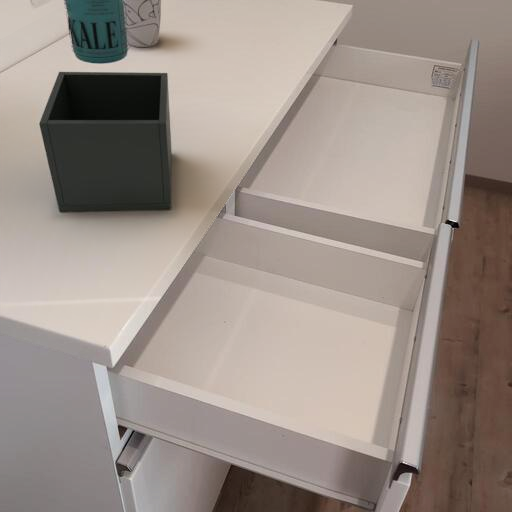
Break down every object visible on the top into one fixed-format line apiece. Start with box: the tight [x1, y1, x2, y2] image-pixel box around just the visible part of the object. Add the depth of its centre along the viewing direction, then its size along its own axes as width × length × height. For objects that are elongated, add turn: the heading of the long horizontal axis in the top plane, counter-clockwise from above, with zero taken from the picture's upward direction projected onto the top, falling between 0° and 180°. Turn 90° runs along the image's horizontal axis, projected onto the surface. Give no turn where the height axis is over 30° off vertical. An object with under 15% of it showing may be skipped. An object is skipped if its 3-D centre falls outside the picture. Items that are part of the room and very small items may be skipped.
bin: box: [39, 71, 173, 213], centre depth 69 cm, size 14×14×12 cm
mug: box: [123, 0, 162, 48], centre depth 107 cm, size 11×8×10 cm
